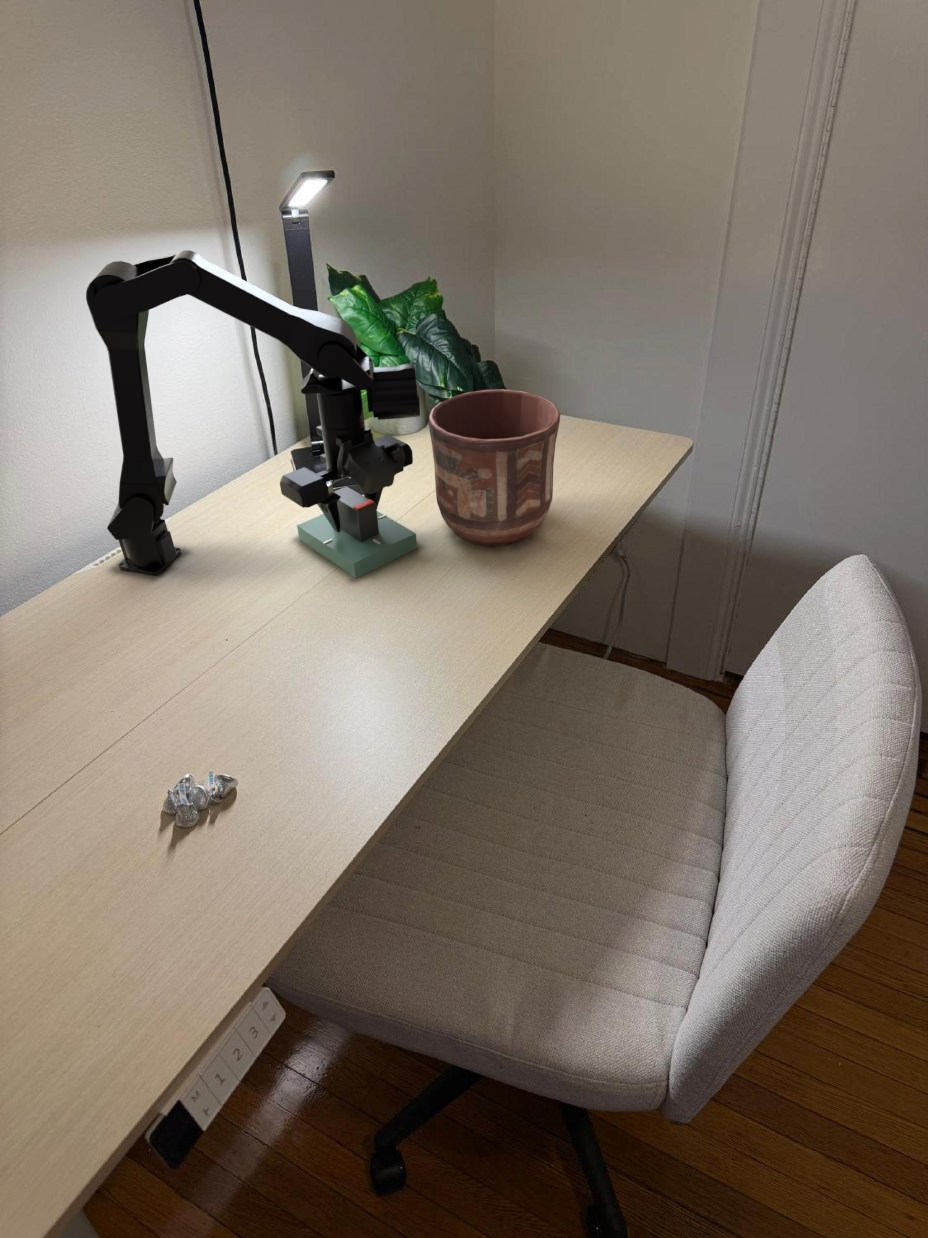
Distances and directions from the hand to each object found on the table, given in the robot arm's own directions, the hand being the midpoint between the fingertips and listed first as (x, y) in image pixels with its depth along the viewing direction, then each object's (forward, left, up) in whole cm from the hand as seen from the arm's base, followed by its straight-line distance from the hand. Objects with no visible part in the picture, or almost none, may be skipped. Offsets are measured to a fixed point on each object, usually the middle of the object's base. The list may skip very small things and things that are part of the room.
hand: (354, 523), depth 117 cm
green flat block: (0, 0, -4) cm, 4 cm away
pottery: (+18, +10, -4) cm, 21 cm away
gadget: (0, 0, -1) cm, 1 cm away
